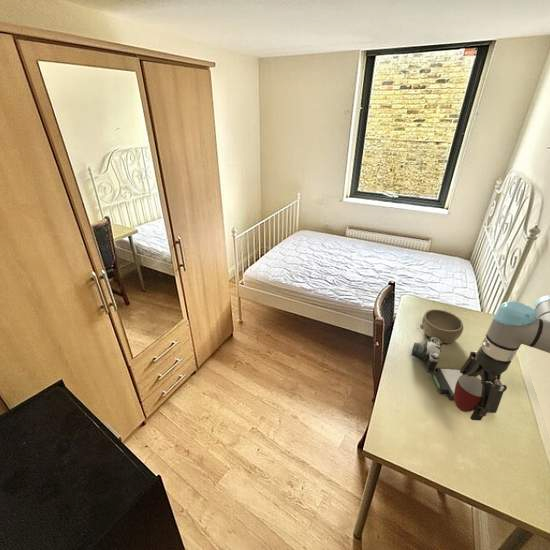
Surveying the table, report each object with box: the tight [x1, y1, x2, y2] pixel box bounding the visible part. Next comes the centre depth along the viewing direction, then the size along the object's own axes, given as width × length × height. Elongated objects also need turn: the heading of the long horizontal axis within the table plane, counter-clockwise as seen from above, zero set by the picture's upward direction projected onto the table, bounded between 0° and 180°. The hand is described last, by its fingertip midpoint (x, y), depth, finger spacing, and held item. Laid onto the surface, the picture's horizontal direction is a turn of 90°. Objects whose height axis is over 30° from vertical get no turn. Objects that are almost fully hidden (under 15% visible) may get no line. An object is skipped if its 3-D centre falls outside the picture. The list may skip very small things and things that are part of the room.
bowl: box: [419, 308, 464, 344], centre depth 141 cm, size 17×18×10 cm
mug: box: [453, 375, 482, 413], centre depth 89 cm, size 10×8×10 cm
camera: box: [411, 337, 443, 374], centre depth 127 cm, size 16×10×10 cm, turn 153°
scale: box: [431, 367, 463, 401], centre depth 116 cm, size 14×17×3 cm
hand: (468, 406), depth 92 cm, fingers closed on mug, 8 cm apart
